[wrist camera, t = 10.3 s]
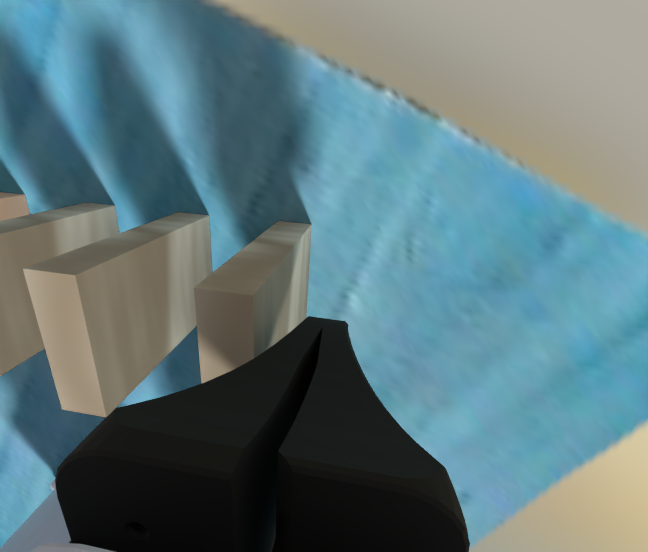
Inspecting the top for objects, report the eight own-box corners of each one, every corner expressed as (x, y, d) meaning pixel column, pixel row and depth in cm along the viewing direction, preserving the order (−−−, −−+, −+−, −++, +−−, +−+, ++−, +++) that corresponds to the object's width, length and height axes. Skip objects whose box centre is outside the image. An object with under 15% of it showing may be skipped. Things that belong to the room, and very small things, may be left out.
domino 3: (276, 314, 18) (205, 433, 11) (278, 220, 16) (193, 287, 9) (306, 318, 18) (254, 442, 11) (311, 224, 16) (253, 295, 9)
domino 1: (103, 292, 19) (-68, 385, 12) (86, 202, 17) (-129, 248, 10) (129, 295, 19) (-27, 393, 12) (114, 205, 17) (-82, 254, 10)
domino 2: (186, 303, 19) (62, 409, 11) (178, 212, 17) (22, 268, 10) (214, 307, 19) (106, 417, 11) (209, 215, 17) (75, 275, 9)
